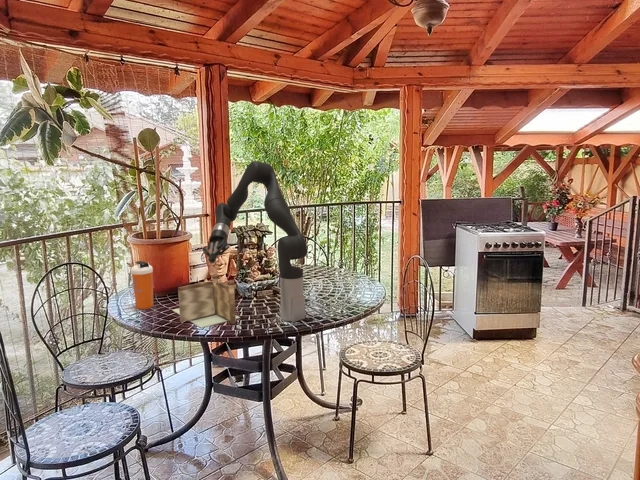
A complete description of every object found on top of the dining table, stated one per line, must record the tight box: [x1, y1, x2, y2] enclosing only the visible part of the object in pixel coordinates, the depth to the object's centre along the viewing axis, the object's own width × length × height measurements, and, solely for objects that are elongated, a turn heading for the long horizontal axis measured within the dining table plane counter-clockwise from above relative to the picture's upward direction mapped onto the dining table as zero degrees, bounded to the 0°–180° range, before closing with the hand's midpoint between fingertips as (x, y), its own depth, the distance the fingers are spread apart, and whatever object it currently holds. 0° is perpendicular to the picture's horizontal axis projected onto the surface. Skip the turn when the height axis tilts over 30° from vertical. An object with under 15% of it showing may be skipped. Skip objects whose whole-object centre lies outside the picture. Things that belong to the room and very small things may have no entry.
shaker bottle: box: [130, 260, 154, 310], centre depth 194 cm, size 9×9×20 cm
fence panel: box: [177, 280, 214, 323], centre depth 178 cm, size 14×1×14 cm, turn 129°
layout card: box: [171, 307, 241, 329], centre depth 186 cm, size 28×17×1 cm, turn 40°
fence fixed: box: [211, 273, 237, 325], centre depth 178 cm, size 16×2×17 cm, turn 40°
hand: (211, 261), depth 191 cm, fingers closed
